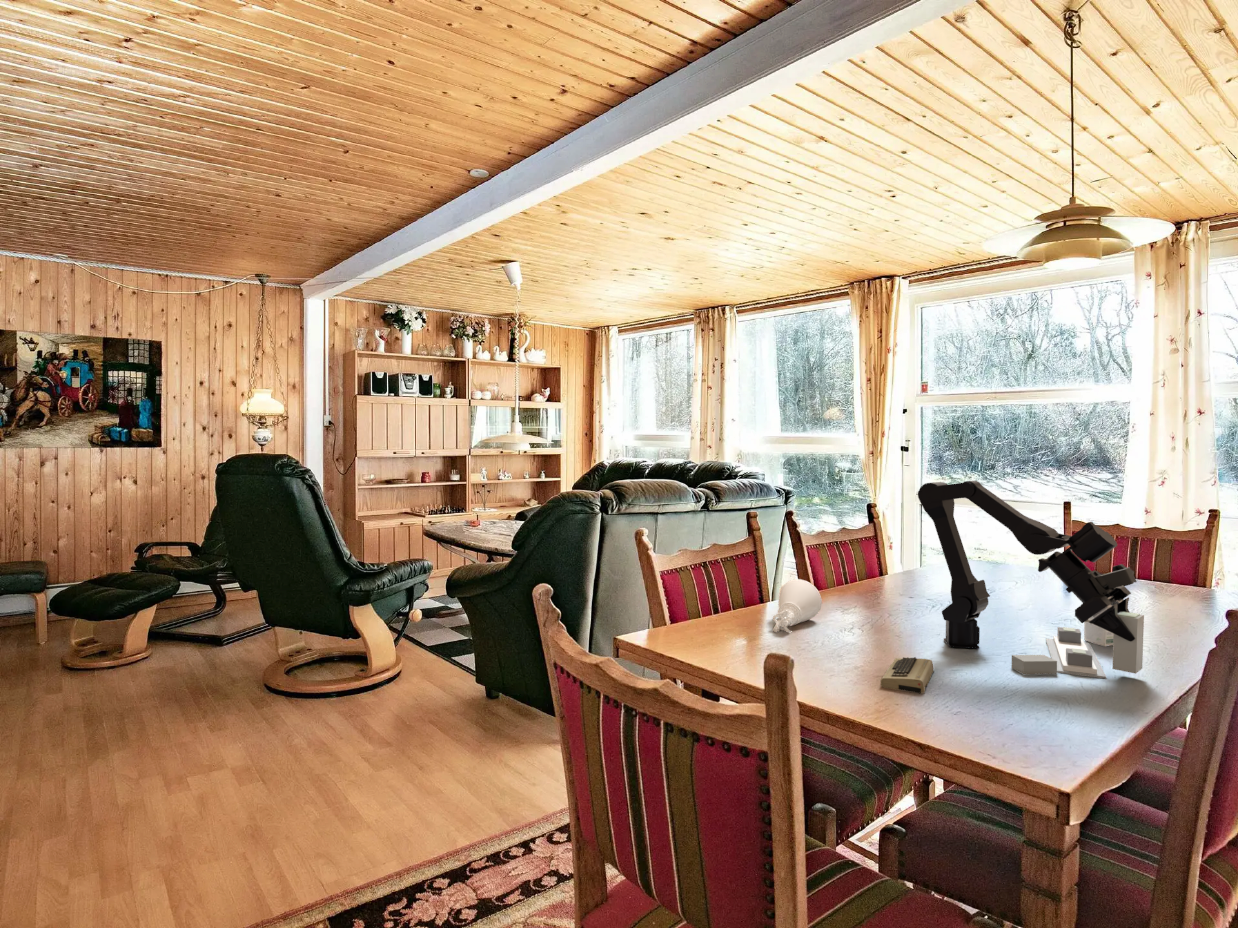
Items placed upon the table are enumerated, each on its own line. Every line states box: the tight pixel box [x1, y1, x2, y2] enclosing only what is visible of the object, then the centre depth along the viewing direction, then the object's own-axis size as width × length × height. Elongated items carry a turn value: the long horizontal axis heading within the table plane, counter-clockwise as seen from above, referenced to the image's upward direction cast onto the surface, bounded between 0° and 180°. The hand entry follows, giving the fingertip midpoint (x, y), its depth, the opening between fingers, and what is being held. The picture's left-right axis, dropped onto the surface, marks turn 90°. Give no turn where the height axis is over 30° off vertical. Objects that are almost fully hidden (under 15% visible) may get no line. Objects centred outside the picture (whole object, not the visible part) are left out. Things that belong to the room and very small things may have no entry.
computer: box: [880, 656, 935, 695], centre depth 150 cm, size 16×8×3 cm, turn 151°
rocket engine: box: [772, 578, 823, 634], centre depth 193 cm, size 12×12×18 cm
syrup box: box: [1083, 599, 1124, 647], centre depth 177 cm, size 6×6×14 cm
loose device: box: [1011, 654, 1058, 675], centre depth 155 cm, size 7×4×3 cm, turn 92°
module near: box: [1066, 648, 1092, 668], centre depth 156 cm, size 4×4×3 cm
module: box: [1112, 611, 1145, 674], centre depth 150 cm, size 4×5×11 cm
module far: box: [1056, 626, 1082, 644], centre depth 174 cm, size 4×4×3 cm
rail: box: [1045, 635, 1107, 679], centre depth 165 cm, size 9×28×1 cm, turn 153°
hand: (1136, 637), depth 149 cm, fingers closed on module, 5 cm apart
